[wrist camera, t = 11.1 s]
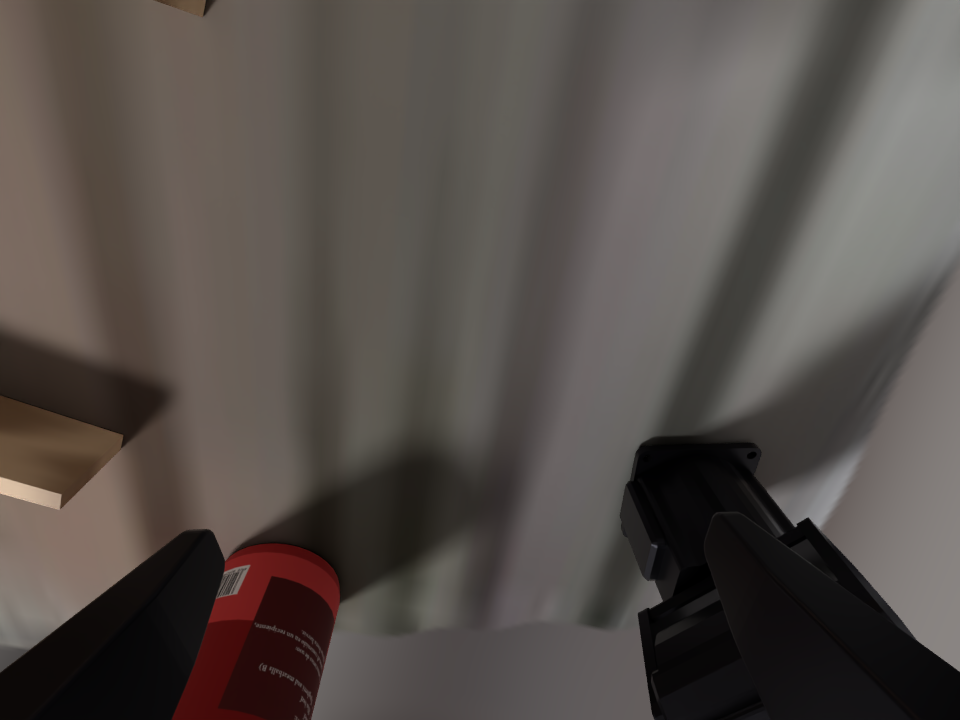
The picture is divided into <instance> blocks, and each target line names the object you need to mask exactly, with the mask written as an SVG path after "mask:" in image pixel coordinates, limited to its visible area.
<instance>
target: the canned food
mask: <svg viewBox="0 0 960 720" xmlns="http://www.w3.org/2000/svg"><path fill="white" fill-rule="evenodd" d="M339 603H340V587H339V581H338V577H337V575H336V573H335V571H334V569H333V568H332V567H331V566H330V565H329V564H328V563H327V562H326V561H325V560H324V559H322V558H321V557H320V556H318V555H316V554H314V553H312V552H311V551H309V550H306V549H303V548H300V547H297V546H292V545H288V544H277V543H271V544H259V545H254V546H249V547H247V548H244V549H241V550H239V551H237V552H236V553H234V554H233V555H231V556H230V557H229V558H228V559H227V560H226V561H225V570H224V574H223V578H222V581H221V584H220V587H219V590H218V594H217V597H216V600H215V603H214V606H213V609H212V613H211V616H210V619H209V622H208V625H207V628H206V632H205V635H204V638H203V641H202V644H201V647H200V650H199V653H198V656H197V659H196V662H195V665H194V667H193V670H192V672H191V675H190V677H189V680H188V682H187V684H186V687H185V689H184V692H183V694H182V696H181V699H180V701H179V703H178V706H177V708H176V710H175V713H174V715H173V717H172V720H311V717H312V713H313V709H314V705H315V701H316V697H317V693H318V689H319V685H320V680H321V676H322V673H323V669H324V664H325V660H326V656H327V652H328V648H329V644H330V640H331V636H332V632H333V628H334V624H335V620H336V616H337V612H338V608H339Z"/></svg>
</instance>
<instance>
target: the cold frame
mask: <svg viewBox="0 0 960 720" xmlns="http://www.w3.org/2000/svg"><path fill="white" fill-rule="evenodd" d="M155 1H158V2H161V3H163V4H166V5H169V6H172V7H175V8H178V9H181V10H183V11H186V12H189V13H192V14H195V15H198V16H201V17H203V13H204V8H205V3H206V0H155ZM122 440H123V435H121V434H118V433H115V432H112V431H109V430H106V429H103V428H99V427H96V426H93V425H90V424H87V423H84V422H81V421H78V420H75V419H72V418H69V417H65V416H62V415H59V414H56V413H53V412H50V411H47V410H44V409H41V408H38V407H35V406H31V405H28V404H25V403H22V402H19V401H16V400H13V399H10V398H7V397H4V396H1V395H0V494H4V495H8V496H11V497H15V498H18V499H22V500H26V501H29V502H33V503H36V504H40V505H44V506H47V507H51V508H54V509H58V510H60V509H61V508H62V507H63V506H64V505H65V504H66V503H67V502H68V501H69V500H70V499H71V498H72V497H73V496H74V495H75V494H76V493H77V492H78V491H79V490H80V489H81V488H82V487H83V486H84V485H85V484H86V483H87V482H88V481H89V480H90V479H91V478H92V477H93V476H94V475H95V474H96V473H97V472H98V471H99V470H100V469H101V468H102V467H103V466H104V465H105V464H106V463H107V462H108V461H109V460H110V459H111V458H113V457H114V456H115V455H116V454H117V453H118V452H119V451H120V450H121V445H122Z"/></svg>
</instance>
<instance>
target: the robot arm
mask: <svg viewBox="0 0 960 720" xmlns="http://www.w3.org/2000/svg"><path fill="white" fill-rule="evenodd" d="M750 452H751V453H750ZM748 453H749V454H748ZM645 455H648V456H647V457H644V456H645ZM760 457H761V450H760V449H759V448H758V447H757V445H755V444H754V443H730V444H695V445H661V446H643V447H641V448H639V449H638V450H637V451H636V453H635V458H634V463H633V468H632V474H631V479H630V481H628V483H627V484H626V486H625V491H624V496H623V502H622V507H621V512H620V518H621V521H622V524H621V530H622V532H623V535H624V536H625V537H627V538H628V539H629V542H630V544H631V547H632V549H633V552H634V555H635V557H636V560H637V562H638V565H639V568H640V570H641V573H642V576H643V577H644V578H645V579H646V580H647V581H655V583H656V585H657V588H658V590H659V593H660V595H661V598H662V600H663V602H662V603H660V604H658V605H656V606H654V607H653V608H651V609H649V608H646V609H645V610H643V611H641V612H639V613H638V619H639V626H640V634H641V641H642V647H643V655H644V662H645V669H646V676H647V683H648V690H649V696H650V703H651V710H652V715H653V717H654V719H655V720H960V672H959V671H958V670H957V669H955V668H954V667H953V666H951V665H950V664H948V663H947V662H945V661H944V660H943V659H941V658H940V657H939V656H937V655H936V654H934V653H933V652H932V651H930V650H929V649H928V648H926V647H925V646H924V645H922V644H921V643H919V642H918V641H917V640H916V638H915V637H914V636H913V634H912V633H911V632H910V631H909V629H908V628H907V627H906V625H905V624H904V623H903V622H902V620H901V619H900V618H899V617H898V615H897V614H896V613H895V612H894V611H893V610H892V609H891V607H890V606H889V605H888V604H887V603H886V601H885V600H884V599H883V598H882V597H881V596H880V595H879V593H878V592H877V591H876V590H875V589H874V588H873V587H872V585H871V584H870V583H869V582H868V581H867V580H866V578H865V577H864V576H863V575H862V574H861V573H860V572H859V571H858V569H857V568H856V567H855V566H854V565H853V564H852V563H851V562H850V561H849V560H848V559H847V558H846V556H844V554H843V553H842V552H841V551H840V550H839V549H838V548H837V547H836V546H835V545H834V544H833V543H832V542H831V541H830V540H829V539H828V538H827V537H826V536H825V534H824V533H823V532H822V531H821V530H820V529H819V528H818V527H817V526H816V525H815V524H814V523H813V522H812V521H811V520H810V519H809V518H806V519H804V520H803V521H801V522H799V523H797V527H794V525H793V524H792V523H791V522H790V520H789V519H788V518H787V517H786V515H785V514H784V513H783V512H782V510H781V509H780V508H779V506H778V505H777V504H776V503H775V501H774V500H773V499H772V498H771V496H770V495H769V494H768V493H767V491H766V490H765V489H764V487H763V486H762V485H761V484H760V482H759V481H758V480H757V479H756V477H755V476H754V473H755V470H756V468H757V465H758V462H759V460H760ZM224 570H225V560H224V557H223V554H222V552H221V549H220V547H219V545H218V542H217V540H216V538H215V535H214V533H213V532H212V531H211V530H209V529H194V530H186V531H184V532H182V533H181V534H179V535H178V536H177V537H175V538H174V539H173V540H171V541H170V542H169V543H167V544H166V545H165V546H164V547H162V548H161V549H160V550H158V551H157V552H156V553H155V554H153V555H152V556H151V557H149V558H148V559H147V560H145V561H144V562H143V563H142V564H140V565H139V566H138V567H136V568H135V569H134V570H132V571H131V572H130V573H129V574H127V575H126V576H125V577H123V578H122V579H121V580H120V581H118V582H117V583H116V584H114V585H113V586H112V587H110V588H109V589H108V590H107V591H105V592H104V593H103V594H101V595H100V596H99V597H97V598H96V599H95V600H94V601H92V602H91V603H90V604H88V605H87V606H86V607H85V608H83V609H82V610H81V611H79V612H78V613H77V614H75V615H74V616H73V617H72V618H70V619H69V620H68V621H66V622H65V623H64V624H62V625H61V626H60V627H59V628H57V629H56V630H55V631H53V632H52V633H51V634H50V635H48V636H47V637H46V638H44V639H43V640H42V641H40V642H39V643H38V644H37V645H35V646H34V647H33V648H31V649H30V650H29V651H27V652H26V653H25V654H24V655H22V656H21V657H20V658H18V659H17V660H16V661H15V662H14V663H12V664H11V665H9V666H8V667H7V668H6V669H4V670H3V671H2V672H0V720H172V717H173V715H174V713H175V710H176V708H177V706H178V703H179V701H180V699H181V696H182V694H183V692H184V689H185V687H186V684H187V682H188V680H189V677H190V675H191V672H192V670H193V667H194V665H195V662H196V659H197V656H198V653H199V650H200V647H201V644H202V641H203V638H204V635H205V632H206V628H207V625H208V622H209V619H210V616H211V613H212V609H213V606H214V603H215V600H216V597H217V594H218V590H219V587H220V584H221V581H222V578H223V574H224Z"/></svg>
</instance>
